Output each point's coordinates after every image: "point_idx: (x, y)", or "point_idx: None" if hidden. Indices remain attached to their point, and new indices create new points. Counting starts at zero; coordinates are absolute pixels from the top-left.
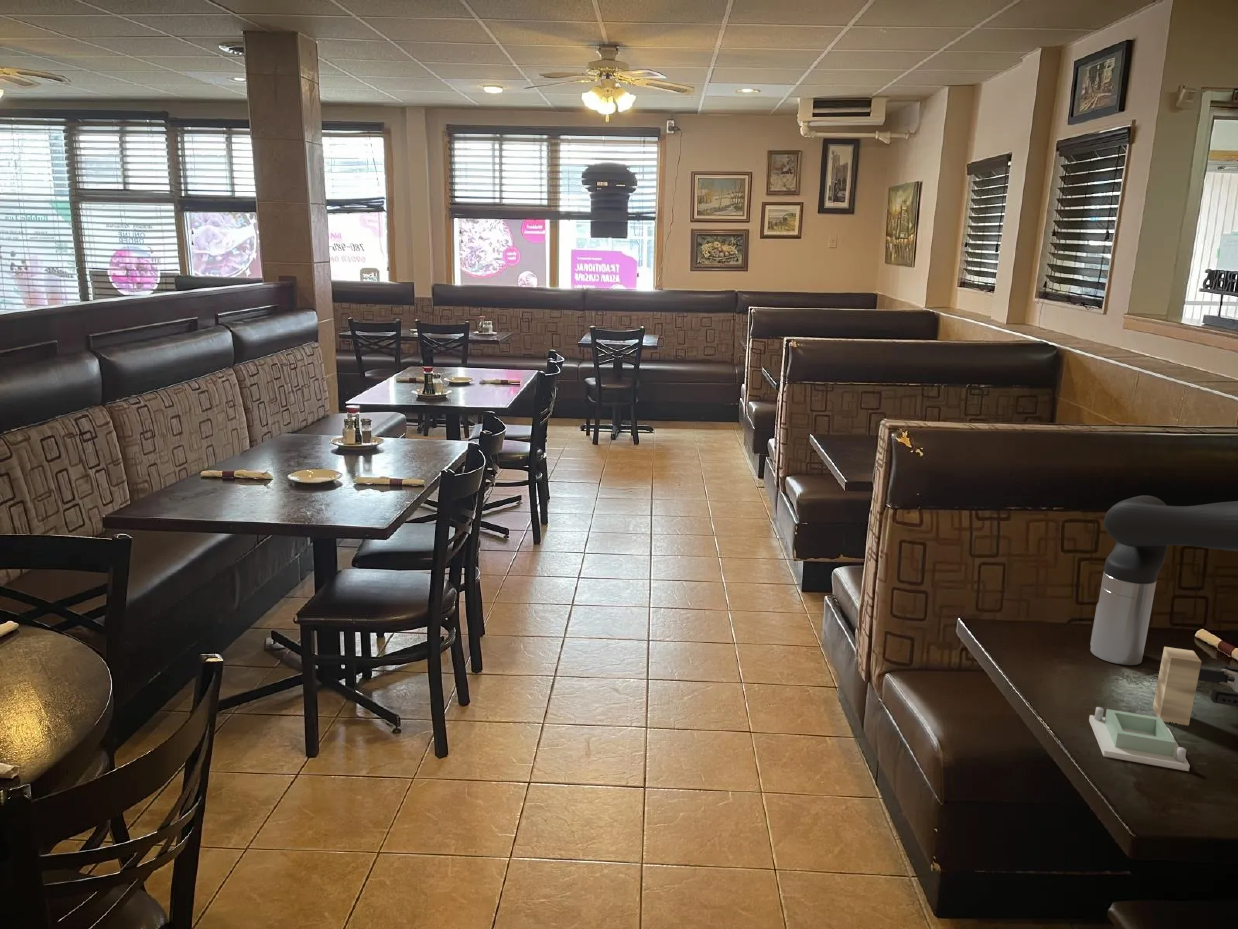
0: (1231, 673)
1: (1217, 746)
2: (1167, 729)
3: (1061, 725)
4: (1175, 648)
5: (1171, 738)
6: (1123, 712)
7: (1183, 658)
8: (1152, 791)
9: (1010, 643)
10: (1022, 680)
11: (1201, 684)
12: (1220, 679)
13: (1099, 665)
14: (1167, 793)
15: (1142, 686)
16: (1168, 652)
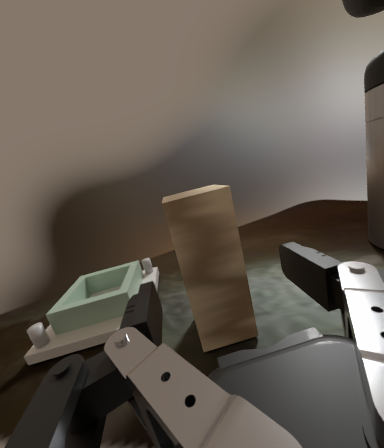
0: (344, 283)
1: (126, 418)
2: (88, 302)
3: None
4: (217, 185)
5: (59, 309)
6: (133, 268)
7: (165, 198)
8: (3, 336)
9: (299, 215)
10: None
11: None
12: (326, 295)
13: (342, 244)
14: None
15: None
16: (186, 191)
